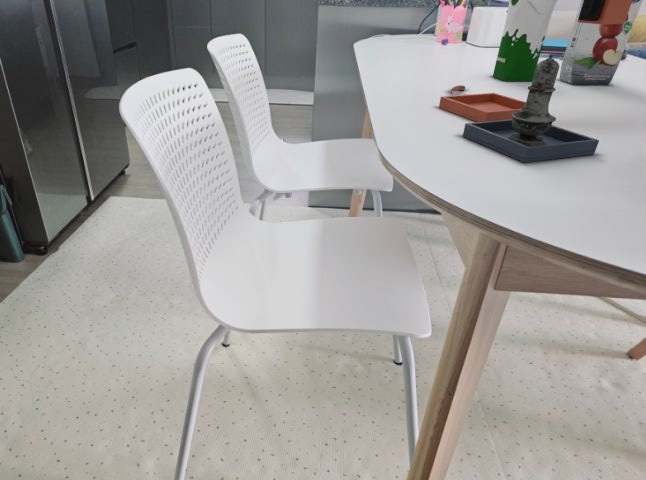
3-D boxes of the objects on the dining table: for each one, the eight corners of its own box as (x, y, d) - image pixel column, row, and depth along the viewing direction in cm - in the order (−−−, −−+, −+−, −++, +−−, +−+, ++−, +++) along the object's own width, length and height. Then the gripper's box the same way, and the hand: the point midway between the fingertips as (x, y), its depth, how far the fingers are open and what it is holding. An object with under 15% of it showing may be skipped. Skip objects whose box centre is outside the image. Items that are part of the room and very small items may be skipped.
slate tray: (525, 130, 76) (528, 117, 75) (594, 154, 66) (599, 140, 65) (462, 136, 73) (465, 123, 72) (524, 162, 62) (528, 148, 61)
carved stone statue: (550, 139, 70) (579, 51, 63) (544, 149, 66) (574, 56, 59) (509, 133, 73) (532, 48, 66) (500, 142, 68) (524, 52, 62)
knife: (462, 97, 94) (446, 95, 95) (461, 100, 94) (446, 99, 95) (468, 85, 104) (454, 84, 105) (467, 88, 104) (453, 87, 105)
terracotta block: (598, 21, 74) (609, -12, 72) (624, 23, 71) (636, -12, 68) (576, 22, 73) (587, -12, 71) (601, 24, 69) (613, -11, 67)
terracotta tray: (491, 103, 93) (493, 92, 92) (542, 119, 82) (545, 107, 81) (438, 107, 89) (440, 96, 88) (484, 124, 79) (487, 112, 78)
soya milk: (487, 75, 120) (508, -17, 109) (522, 75, 120) (547, -17, 109) (501, 82, 112) (526, -16, 101) (539, 82, 112) (567, -16, 102)
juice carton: (552, 78, 116) (592, -54, 101) (594, 79, 116) (641, -54, 101) (571, 85, 108) (617, -57, 94) (616, 86, 108) (670, -57, 94)
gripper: (630, -148, 57) (578, 23, 66) (727, -139, 61) (665, 20, 71) (579, -135, 63) (538, 20, 72) (670, -128, 67) (620, 17, 77)
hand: (601, 18), depth 71 cm, fingers closed on terracotta block, 4 cm apart
